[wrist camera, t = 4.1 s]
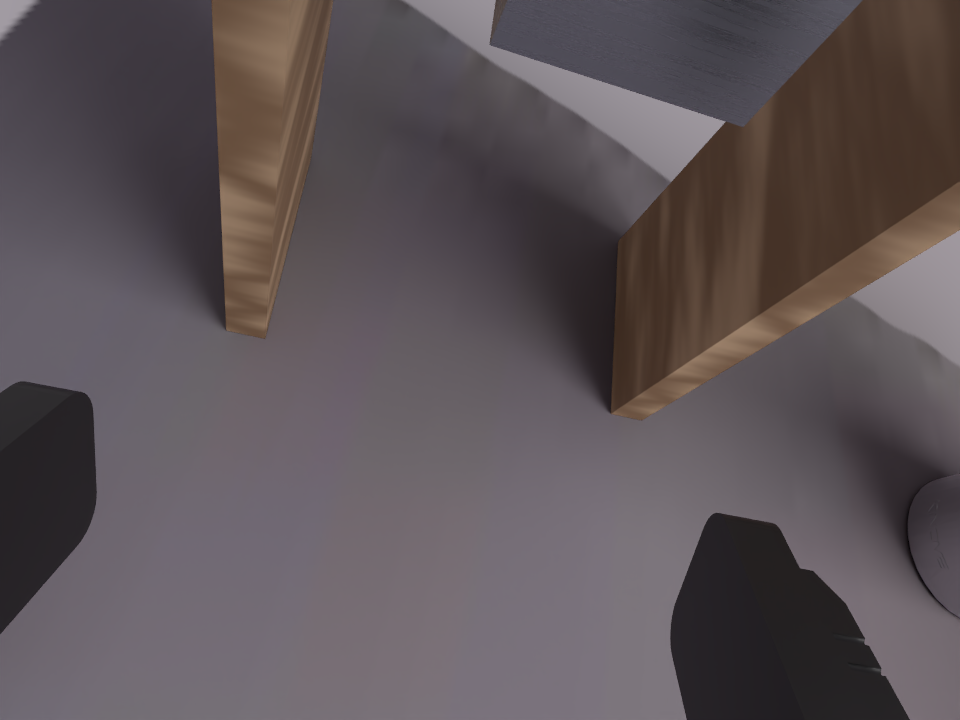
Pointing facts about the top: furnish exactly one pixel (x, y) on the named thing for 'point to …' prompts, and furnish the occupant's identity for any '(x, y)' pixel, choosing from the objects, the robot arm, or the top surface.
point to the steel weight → (675, 45)
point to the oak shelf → (680, 207)
